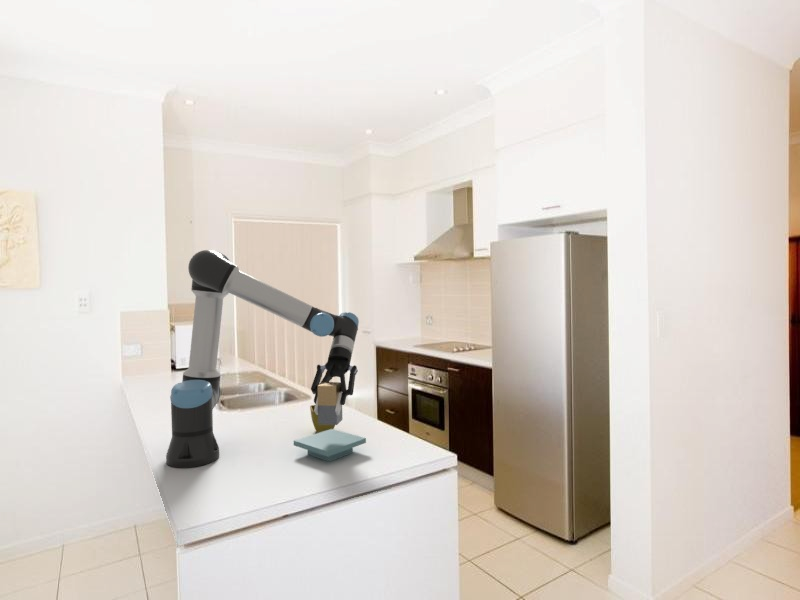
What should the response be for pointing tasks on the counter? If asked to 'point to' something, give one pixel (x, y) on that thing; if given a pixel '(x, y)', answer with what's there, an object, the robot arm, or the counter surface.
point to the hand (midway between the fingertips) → (326, 412)
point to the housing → (328, 403)
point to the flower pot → (317, 426)
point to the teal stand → (329, 444)
